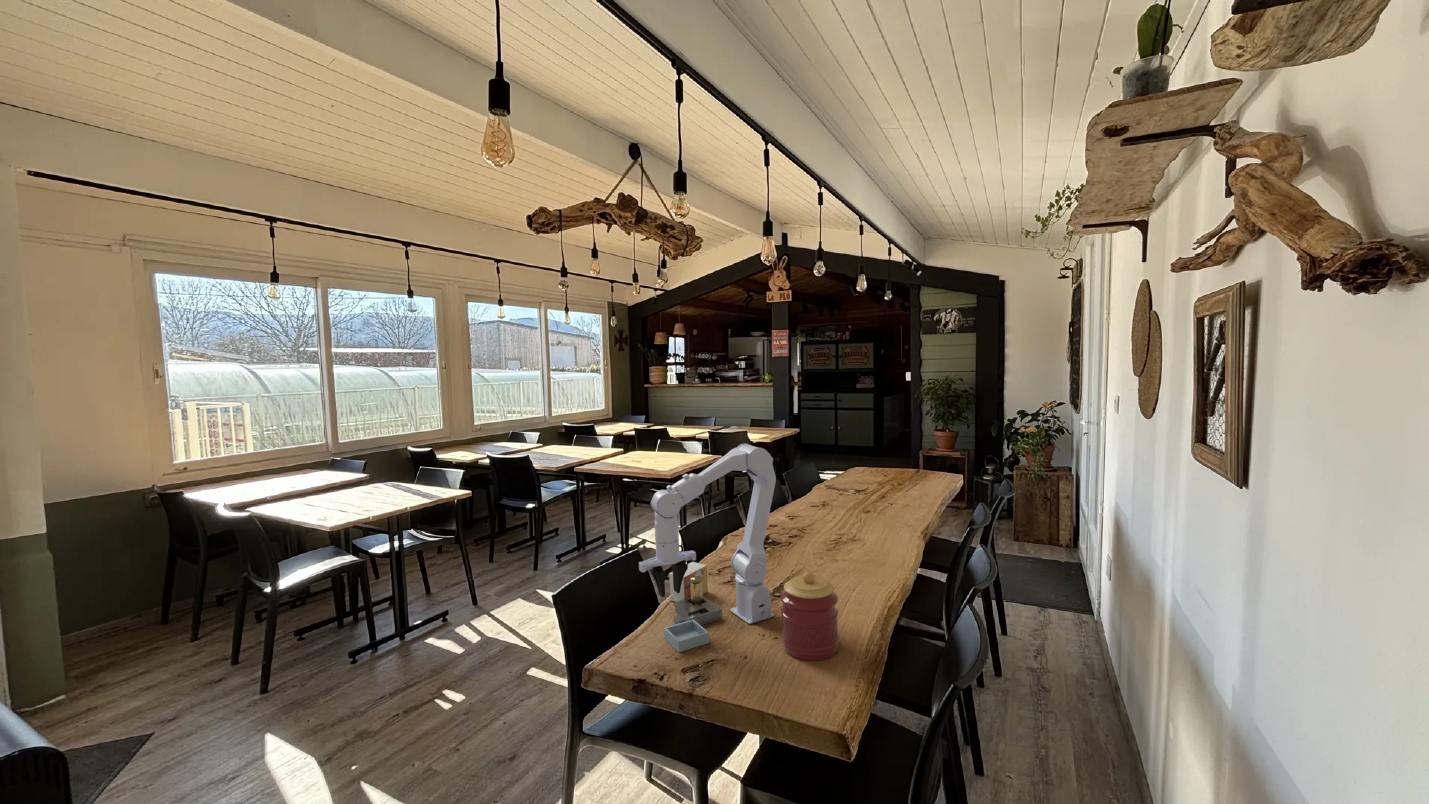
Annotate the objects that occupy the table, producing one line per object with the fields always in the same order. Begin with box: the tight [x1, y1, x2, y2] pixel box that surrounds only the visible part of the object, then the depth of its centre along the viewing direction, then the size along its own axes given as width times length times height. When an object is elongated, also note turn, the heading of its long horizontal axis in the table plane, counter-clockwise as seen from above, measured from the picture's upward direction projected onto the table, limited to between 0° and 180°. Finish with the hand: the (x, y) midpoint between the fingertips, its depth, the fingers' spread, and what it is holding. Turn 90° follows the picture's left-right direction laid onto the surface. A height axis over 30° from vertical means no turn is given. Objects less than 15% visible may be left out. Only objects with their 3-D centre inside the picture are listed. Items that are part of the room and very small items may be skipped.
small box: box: [668, 561, 709, 603], centre depth 158 cm, size 8×6×10 cm
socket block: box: [674, 594, 723, 627], centre depth 146 cm, size 11×8×3 cm
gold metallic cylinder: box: [690, 576, 703, 606], centre depth 148 cm, size 3×3×9 cm
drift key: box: [673, 613, 700, 625], centre depth 141 cm, size 3×7×3 cm, turn 120°
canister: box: [780, 571, 840, 661], centre depth 127 cm, size 13×13×18 cm
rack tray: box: [663, 619, 710, 653], centre depth 133 cm, size 8×8×2 cm
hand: (669, 593), depth 137 cm, fingers open, 3 cm apart
